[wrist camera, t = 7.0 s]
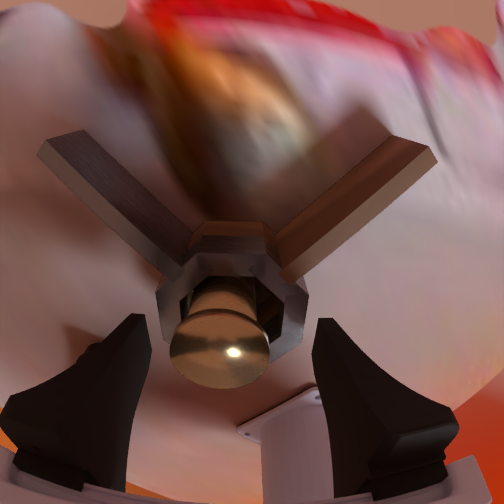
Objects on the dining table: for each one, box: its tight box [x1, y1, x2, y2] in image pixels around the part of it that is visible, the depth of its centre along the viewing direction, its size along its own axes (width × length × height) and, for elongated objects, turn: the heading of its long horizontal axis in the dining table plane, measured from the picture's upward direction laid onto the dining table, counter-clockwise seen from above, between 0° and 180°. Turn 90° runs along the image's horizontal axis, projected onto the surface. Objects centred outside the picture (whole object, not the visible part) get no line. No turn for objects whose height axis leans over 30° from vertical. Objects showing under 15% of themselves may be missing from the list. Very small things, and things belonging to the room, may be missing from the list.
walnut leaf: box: [187, 135, 438, 325], centre depth 14 cm, size 6×14×4 cm, turn 133°
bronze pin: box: [170, 275, 270, 389], centre depth 14 cm, size 4×4×6 cm
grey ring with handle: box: [37, 130, 309, 364], centre depth 14 cm, size 14×6×4 cm, turn 43°
